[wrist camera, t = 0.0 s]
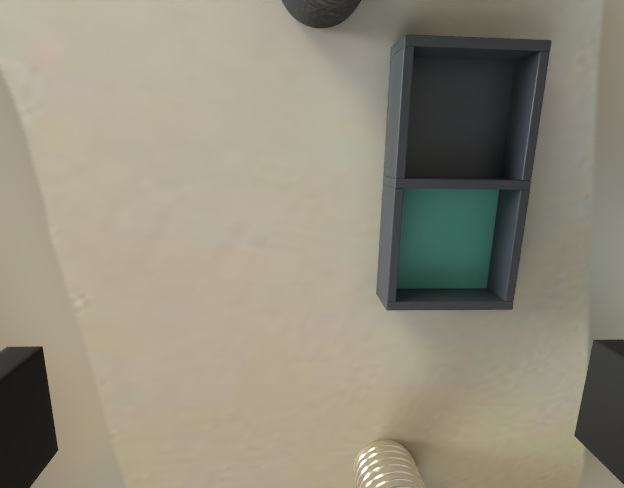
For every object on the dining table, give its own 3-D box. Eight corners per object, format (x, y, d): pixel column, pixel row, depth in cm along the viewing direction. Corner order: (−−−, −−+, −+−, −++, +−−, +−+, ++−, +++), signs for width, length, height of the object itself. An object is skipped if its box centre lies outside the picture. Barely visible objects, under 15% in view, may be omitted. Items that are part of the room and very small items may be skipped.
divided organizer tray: (391, 47, 34) (405, 34, 30) (521, 52, 35) (551, 40, 31) (376, 294, 39) (386, 310, 35) (489, 293, 40) (512, 309, 36)
